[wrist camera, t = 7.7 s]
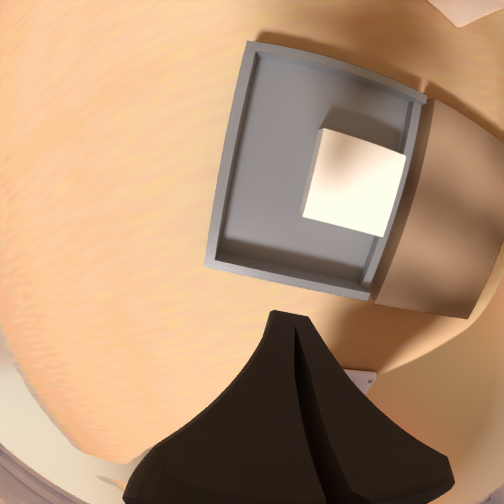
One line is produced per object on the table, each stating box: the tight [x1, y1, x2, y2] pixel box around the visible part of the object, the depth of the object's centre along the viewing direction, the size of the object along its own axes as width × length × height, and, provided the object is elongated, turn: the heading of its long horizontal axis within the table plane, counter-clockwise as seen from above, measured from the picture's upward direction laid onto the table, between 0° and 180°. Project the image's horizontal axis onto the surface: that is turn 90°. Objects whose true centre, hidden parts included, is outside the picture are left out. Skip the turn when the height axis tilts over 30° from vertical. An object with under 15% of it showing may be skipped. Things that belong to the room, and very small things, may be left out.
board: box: [368, 99, 504, 319], centre depth 15 cm, size 14×10×2 cm
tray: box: [204, 41, 427, 301], centre depth 15 cm, size 14×11×2 cm
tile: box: [300, 128, 406, 237], centre depth 15 cm, size 5×5×2 cm
